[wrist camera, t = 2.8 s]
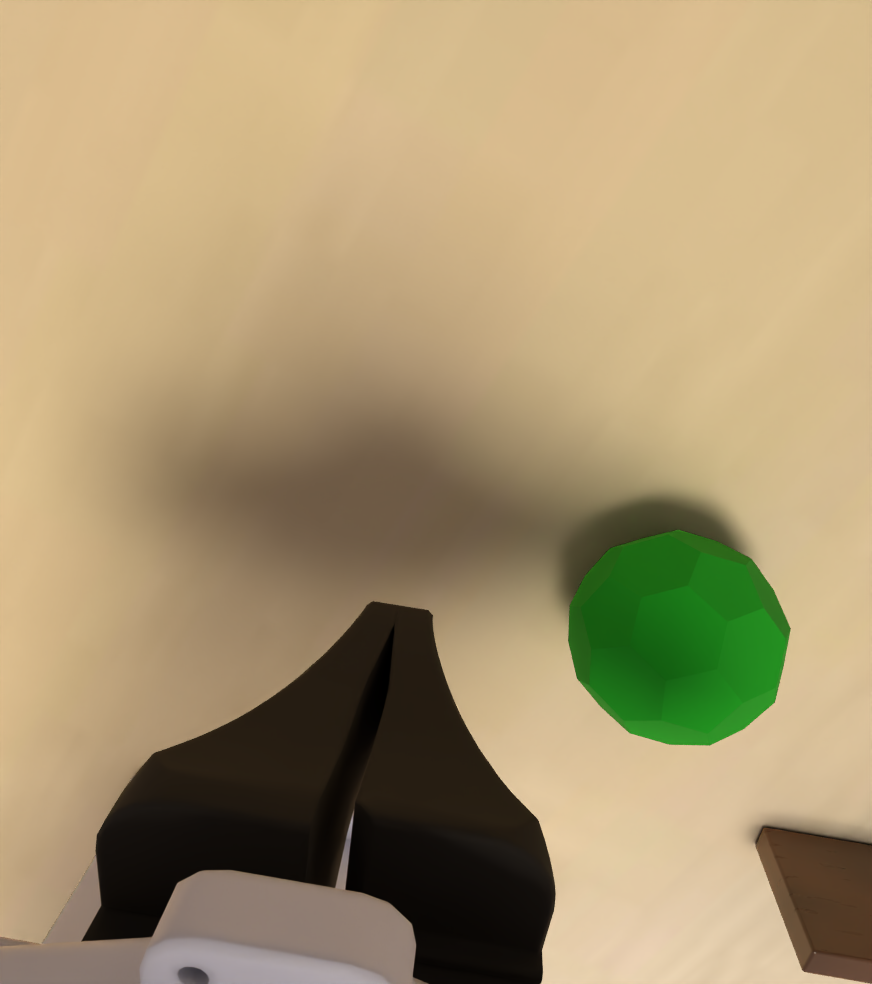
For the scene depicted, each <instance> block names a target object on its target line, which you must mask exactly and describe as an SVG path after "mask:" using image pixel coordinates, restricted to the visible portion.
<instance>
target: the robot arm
mask: <svg viewBox="0 0 872 984" xmlns="http://www.w3.org/2000/svg"><path fill="white" fill-rule="evenodd" d="M555 895H556V894H555V883H554V877H553V872H552V867H551V862H550V857H549V854H548V850H547V846H546V842H545V839H544V836H543V833H542V830H541V827H540V824H539V821H538V819H537V818H536V817H535V816H534V815H533V814H532V813H531V812H530V811H529V810H528V809H527V808H526V807H525V806H524V805H523V804H522V803H521V802H520V801H519V800H518V799H517V798H516V797H515V796H514V795H513V793H512V792H511V791H510V790H509V789H508V788H507V786H506V785H505V784H504V783H503V781H502V780H501V779H500V778H499V777H498V775H497V774H496V772H495V771H494V769H493V768H492V766H491V765H490V764H489V762H488V761H487V759H486V758H485V756H484V755H483V753H482V752H481V751H480V749H479V748H478V746H477V744H476V743H475V741H474V739H473V737H472V736H471V734H470V732H469V730H468V729H467V727H466V725H465V723H464V721H463V719H462V717H461V715H460V713H459V711H458V709H457V706H456V704H455V702H454V699H453V697H452V694H451V692H450V690H449V687H448V684H447V682H446V679H445V676H444V673H443V669H442V666H441V663H440V660H439V656H438V652H437V648H436V644H435V639H434V633H433V615H432V614H431V613H430V611H429V610H424V609H417V608H411V607H405V606H399V605H393V604H387V603H380V602H374V601H373V602H371V603H369V604H368V605H367V606H366V607H365V609H364V610H363V612H362V613H361V614H360V616H359V617H358V618H357V619H356V621H355V622H354V623H353V624H352V625H351V627H350V628H349V629H348V630H347V631H346V632H345V633H344V634H343V636H342V637H341V638H340V639H339V640H338V641H337V642H336V643H335V644H334V645H333V646H332V647H331V648H330V649H329V650H328V651H327V652H326V653H325V654H324V655H323V656H322V657H321V658H320V659H319V660H317V661H316V662H315V663H314V664H313V665H312V666H311V667H310V668H309V669H307V670H306V671H305V672H304V673H303V674H302V675H300V676H299V677H298V678H297V679H296V680H294V681H293V682H292V683H290V684H289V685H288V686H287V687H285V688H284V689H282V690H281V691H280V692H278V693H277V694H276V695H274V696H273V697H271V698H270V699H268V700H267V701H265V702H264V703H262V704H260V705H259V706H257V707H256V708H254V709H253V710H251V711H249V712H248V713H246V714H244V715H243V716H241V717H239V718H237V719H235V720H233V721H231V722H229V723H227V724H225V725H223V726H221V727H219V728H217V729H215V730H213V731H211V732H208V733H206V734H204V735H202V736H199V737H197V738H194V739H192V740H189V741H186V742H184V743H181V744H178V745H176V746H173V747H170V748H167V749H165V750H162V751H159V752H156V753H154V754H152V756H151V757H150V758H149V759H148V760H147V762H146V763H145V764H144V765H143V766H142V768H141V769H140V770H139V771H138V772H137V774H136V775H134V776H133V777H132V778H131V780H130V781H129V783H128V785H127V786H126V788H125V789H124V791H123V792H122V794H121V795H120V797H119V798H118V800H117V801H116V803H115V805H114V806H113V808H112V810H111V811H110V813H109V814H108V816H107V818H106V819H105V821H104V823H103V825H102V827H101V829H100V830H99V832H98V834H97V840H96V855H95V857H94V858H93V860H92V862H91V863H90V865H89V866H88V868H87V870H86V871H85V873H84V875H83V876H82V878H81V880H80V881H79V883H78V885H77V886H76V888H75V890H74V891H73V893H72V894H71V896H70V898H69V899H68V901H67V903H66V904H65V906H64V908H63V909H62V911H61V913H60V914H59V916H58V917H57V919H56V921H55V922H54V924H53V926H52V927H51V929H50V931H49V932H48V934H47V936H46V937H45V939H44V941H43V942H42V944H38V943H32V942H27V941H21V940H15V939H10V938H4V937H0V984H541V981H542V975H543V965H542V948H543V945H544V941H545V938H546V935H547V931H548V928H549V925H550V921H551V918H552V915H553V912H554V906H555Z"/></svg>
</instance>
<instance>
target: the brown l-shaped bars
mask: <svg viewBox="0 0 872 984" xmlns="http://www.w3.org/2000/svg"><path fill="white" fill-rule="evenodd" d="M756 849H757V851H758V854H759V856H760V859H761V862H762V864H763V867H764V870H765V872H766V875H767V878H768V880H769V883H770V886H771V888H772V891H773V894H774V896H775V899H776V902H777V904H778V907H779V910H780V912H781V915H782V918H783V920H784V923H785V926H786V928H787V931H788V934H789V936H790V939H791V942H792V944H793V947H794V950H795V952H796V955H797V958H798V960H799V963H800V966H801V968H802V970H803V971H804V972H808V973H813V974H819V975H825V976H831V977H836V978H842V979H848V980H854V981H859V982H865V983H871V984H872V845H867V844H861V843H855V842H849V841H843V840H837V839H831V838H825V837H819V836H813V835H807V834H801V833H795V832H789V831H784V830H778V829H772V828H763V830H762V833H761V835H760V837H759V839H758V842H757V844H756Z"/></svg>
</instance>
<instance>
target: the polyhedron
mask: <svg viewBox="0 0 872 984" xmlns="http://www.w3.org/2000/svg"><path fill="white" fill-rule="evenodd" d="M790 629H791V628H790V626H789V624H788V622H787V619H786V617H785V615H784V613H783V610H782V608H781V606H780V604H779V601H778V599H777V597H776V595H775V592H774V590H773V589H772V587H771V586H770V584H769V583H768V582H767V580H766V579H765V577H764V576H763V574H762V573H761V572H760V570H759V569H758V567H757V566H756V564H755V563H754V562H753V560H752V559H751V558H749V557H747V556H745V555H743V554H741V553H739V552H737V551H735V550H733V549H731V548H729V547H727V546H726V545H724V544H722V543H720V542H718V541H715V540H712V539H708V538H705V537H702V536H698V535H695V534H691V533H688V532H685V531H681V530H675V531H671V532H666V533H662V534H658V535H654V536H650V537H645V538H642V539H638V540H635V541H632V542H629V543H625V544H622V545H619V546H616V547H612V548H610V549H609V550H608V551H607V552H606V553H605V554H604V555H603V556H602V558H601V559H600V560H599V561H598V562H597V563H596V564H595V565H594V566H593V567H592V569H591V570H590V571H589V572H588V573H587V574H586V575H585V577H584V579H583V581H582V582H581V584H580V586H579V588H578V590H577V592H576V594H575V596H574V598H573V600H572V602H571V604H570V610H569V637H568V642H569V646H570V650H571V654H572V659H573V663H574V667H575V672H576V676H577V679H578V680H579V681H580V682H581V684H582V685H583V686H584V687H585V688H586V690H587V691H588V692H589V693H590V694H591V696H592V697H593V698H594V699H595V700H596V702H597V703H598V704H599V705H600V706H601V707H602V708H603V709H604V710H605V711H606V712H607V713H608V714H609V715H610V716H611V717H613V718H614V719H615V720H616V721H617V722H618V723H619V724H620V725H621V726H622V727H623V728H625V729H626V730H627V731H628V732H629V733H631V734H635V735H638V736H642V737H645V738H649V739H652V740H656V741H659V742H663V743H666V744H671V745H711V744H714V743H716V742H718V741H720V740H722V739H724V738H726V737H728V736H730V735H732V734H734V733H736V732H739V731H741V730H743V729H744V728H745V727H746V726H748V725H749V724H750V723H751V722H752V721H754V720H755V719H756V718H757V717H758V716H759V715H761V714H762V713H763V712H764V711H765V710H766V709H768V708H769V707H770V706H771V705H772V704H773V703H775V699H776V695H777V691H778V687H779V683H780V679H781V674H782V670H783V666H784V661H785V656H786V650H787V645H788V640H789V634H790Z"/></svg>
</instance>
